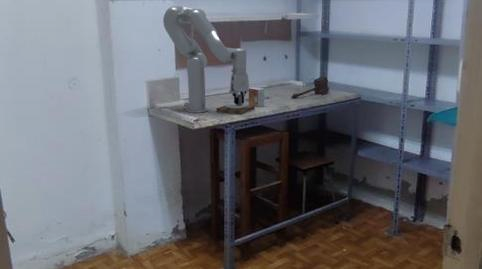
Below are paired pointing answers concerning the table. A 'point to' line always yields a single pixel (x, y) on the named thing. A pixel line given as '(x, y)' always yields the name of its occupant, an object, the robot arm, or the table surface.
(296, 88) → the table surface
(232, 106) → the round post pedestal
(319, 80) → the hammer
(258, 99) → the small box
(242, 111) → the stand base
